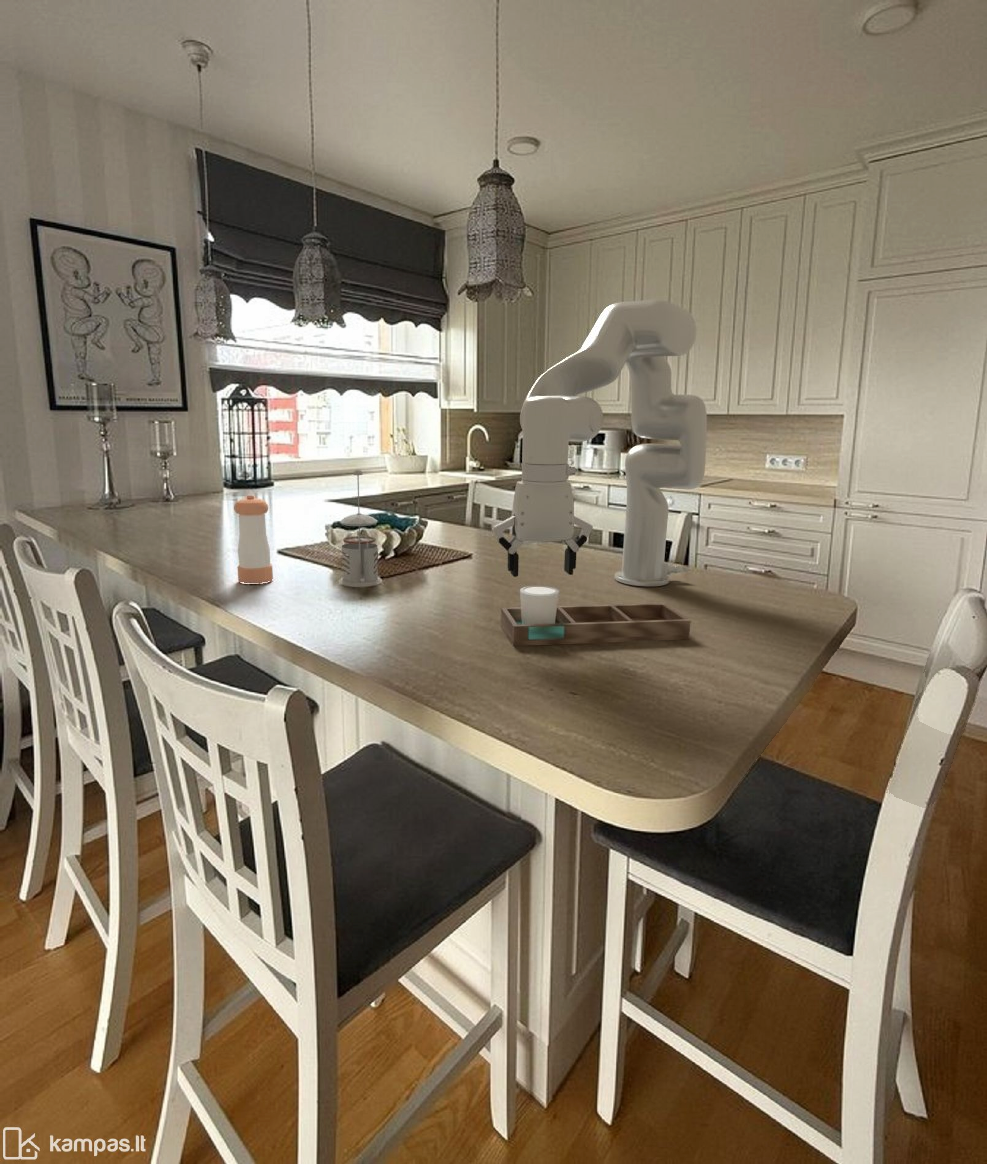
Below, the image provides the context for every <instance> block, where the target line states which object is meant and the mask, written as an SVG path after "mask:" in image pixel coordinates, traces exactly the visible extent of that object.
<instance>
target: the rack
mask: <svg viewBox="0 0 987 1164" xmlns="http://www.w3.org/2000/svg"><path fill="white" fill-rule="evenodd" d="M500 611H501V612H500V627H501V628H502V630H503V631H504V633H505V635H506V637H507V636H508V637H507V638H508V640H509V641H510V643H511V645H512V644H513V645H512V646H513V647H519V646H546V645H570V644H573V645H574V644H599V643H620V642H621V643H625V642H628V643H629V642H643V641H644V642H645V641H647V642H650V641H651V642H652V641H669V640H670V641H675V640H689V639H690V631H691V619H689V618H687V617H686V616H684V615H683V614H681V613H680V612H679V611H676V610H675V609H674V608H672V607H671V606H669V605H667V604H666V603H664V602H658V603H657V602H656V603H629V604H627V603H625V604H624V603H623V604H595V605H594V604H592V605H591V604H588V605H584V604H583V605H557V611H556V618H555V624H527V625H522V618H521V606H519V607H518V606H517V607H515V606H513V607H501V608H500Z"/></svg>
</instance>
